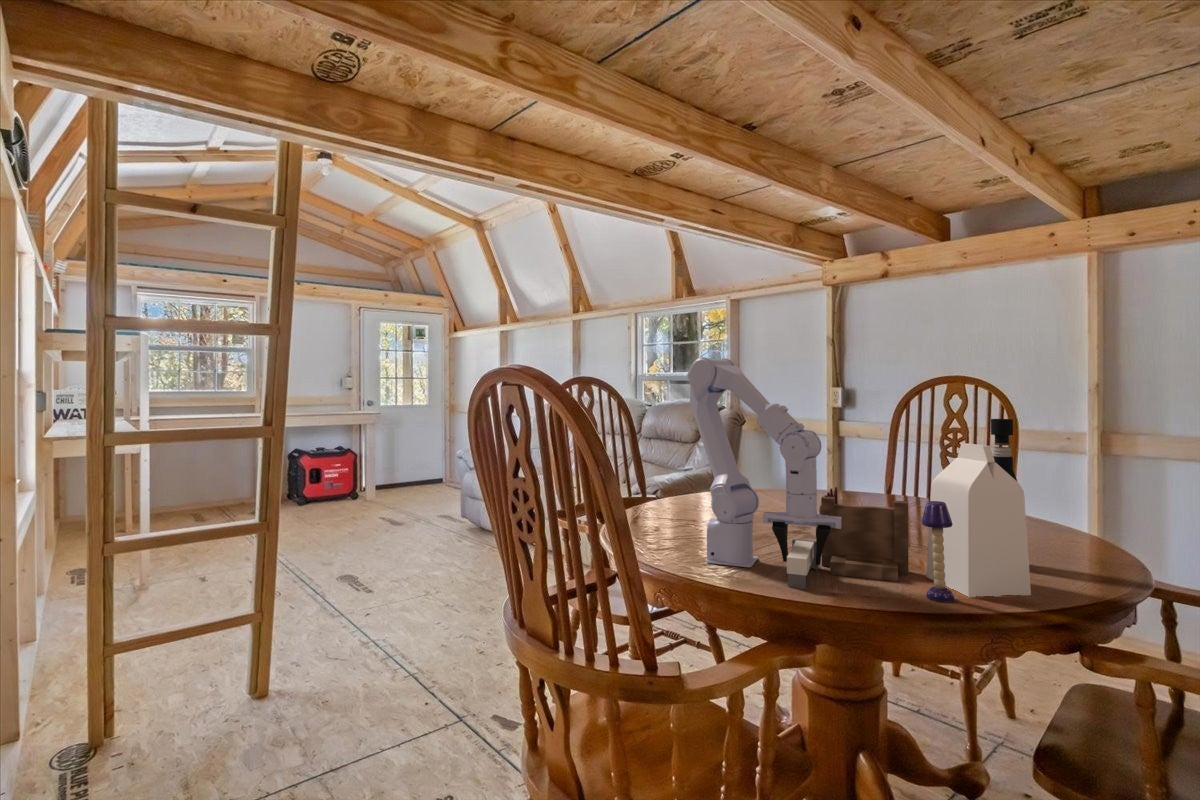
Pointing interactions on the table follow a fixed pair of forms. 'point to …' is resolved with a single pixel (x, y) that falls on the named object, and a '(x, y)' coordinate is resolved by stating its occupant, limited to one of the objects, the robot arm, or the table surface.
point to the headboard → (867, 540)
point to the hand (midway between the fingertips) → (801, 562)
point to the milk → (982, 526)
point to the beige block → (800, 562)
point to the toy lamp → (938, 548)
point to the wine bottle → (1003, 454)
